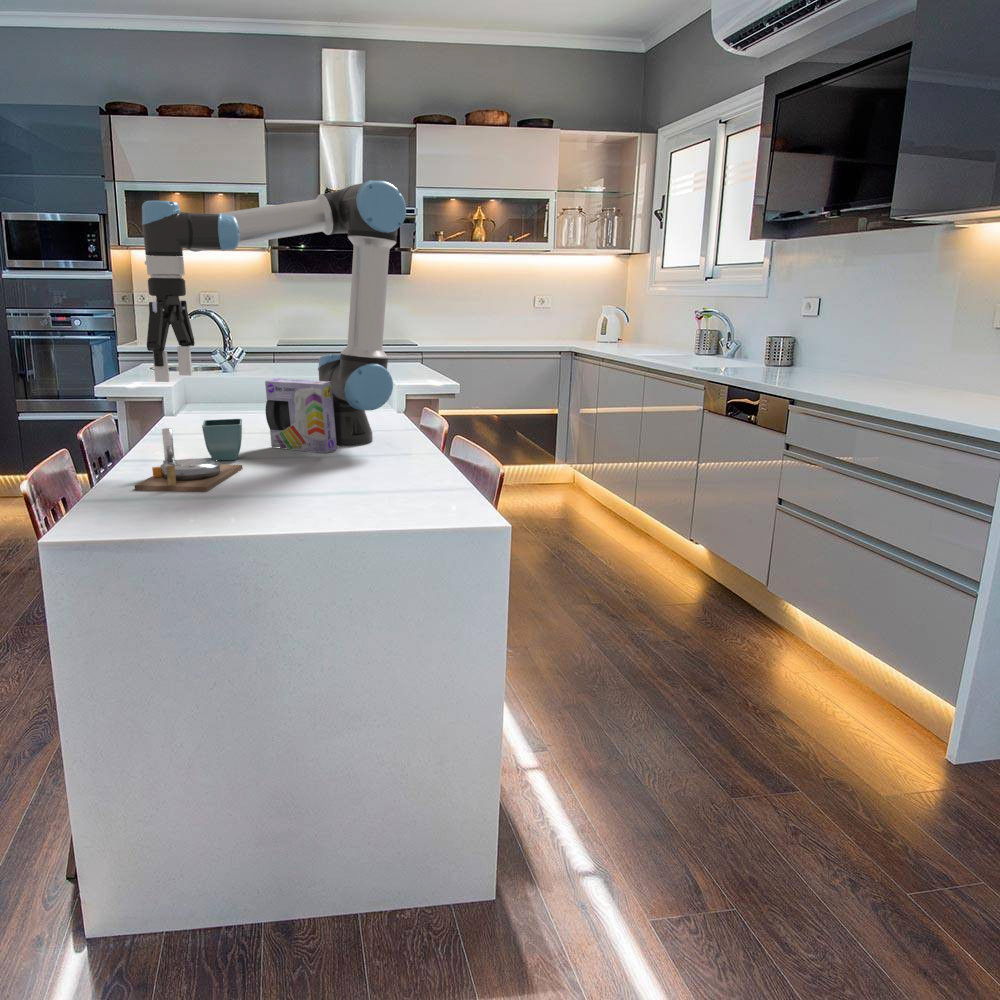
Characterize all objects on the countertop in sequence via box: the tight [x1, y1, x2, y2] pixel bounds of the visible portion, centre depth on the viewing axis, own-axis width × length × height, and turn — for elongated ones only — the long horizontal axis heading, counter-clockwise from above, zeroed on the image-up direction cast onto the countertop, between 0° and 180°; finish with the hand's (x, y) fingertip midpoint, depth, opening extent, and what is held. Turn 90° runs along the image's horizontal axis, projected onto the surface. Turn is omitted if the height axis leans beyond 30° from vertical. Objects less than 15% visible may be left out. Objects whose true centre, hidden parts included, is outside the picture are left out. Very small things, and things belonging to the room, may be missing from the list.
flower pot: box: [201, 418, 243, 461], centre depth 202 cm, size 9×9×9 cm
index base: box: [133, 463, 243, 493], centre depth 182 cm, size 15×21×5 cm
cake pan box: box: [264, 377, 338, 454], centre depth 213 cm, size 19×5×18 cm, turn 62°
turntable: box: [151, 427, 221, 480], centre depth 182 cm, size 14×13×9 cm
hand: (174, 378), depth 187 cm, fingers open, 12 cm apart
